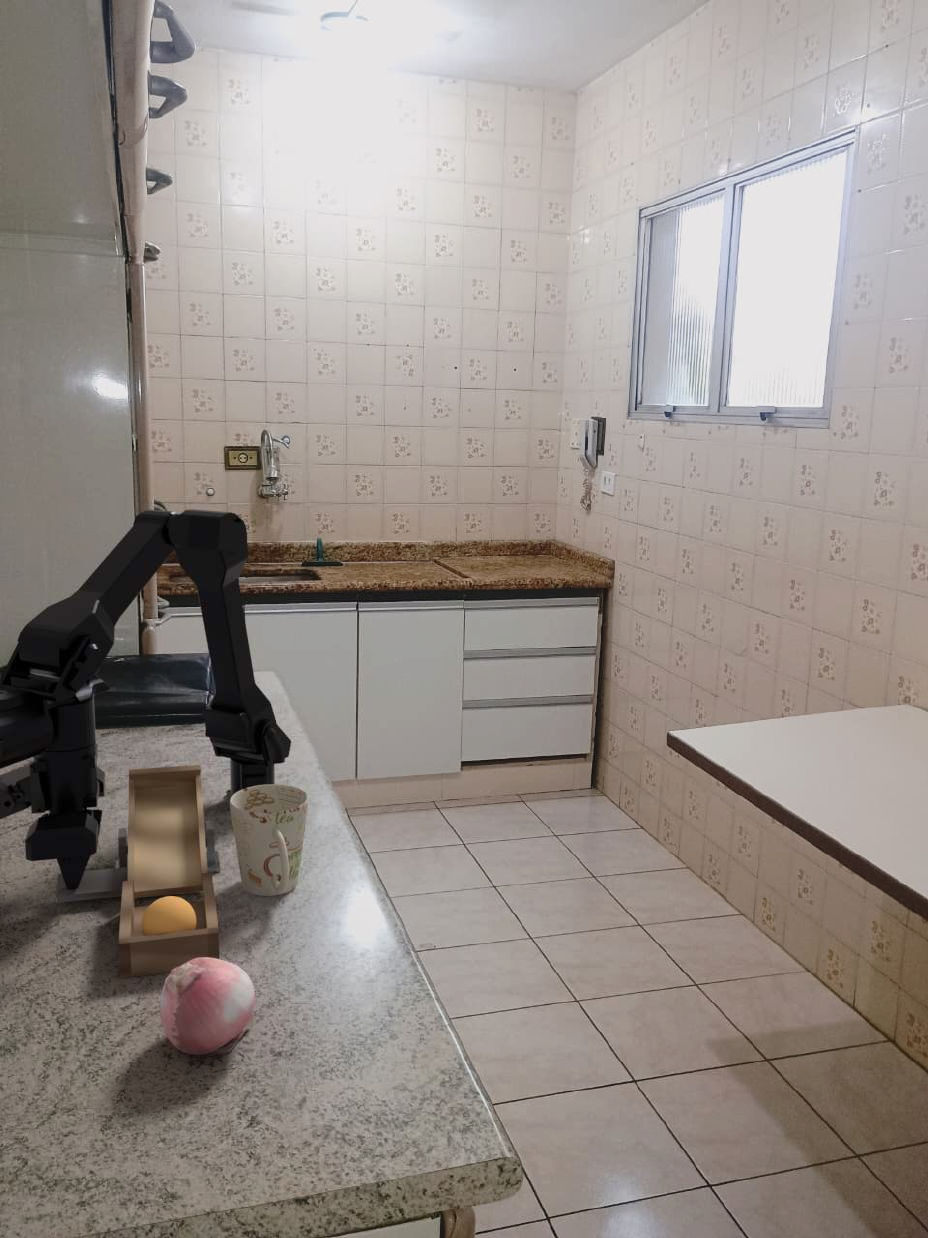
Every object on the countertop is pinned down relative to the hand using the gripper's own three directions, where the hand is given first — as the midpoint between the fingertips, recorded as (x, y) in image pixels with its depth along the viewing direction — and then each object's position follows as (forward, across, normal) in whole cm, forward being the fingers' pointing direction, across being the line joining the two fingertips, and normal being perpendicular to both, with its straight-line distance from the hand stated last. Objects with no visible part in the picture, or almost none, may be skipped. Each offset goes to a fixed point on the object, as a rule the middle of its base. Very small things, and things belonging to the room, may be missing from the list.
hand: (72, 887), depth 102 cm
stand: (+2, -6, +10) cm, 12 cm away
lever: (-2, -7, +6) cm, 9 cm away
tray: (+2, +9, +9) cm, 13 cm away
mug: (+2, +2, +20) cm, 21 cm away
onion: (+2, +27, +12) cm, 30 cm away
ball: (-1, +12, +9) cm, 15 cm away
